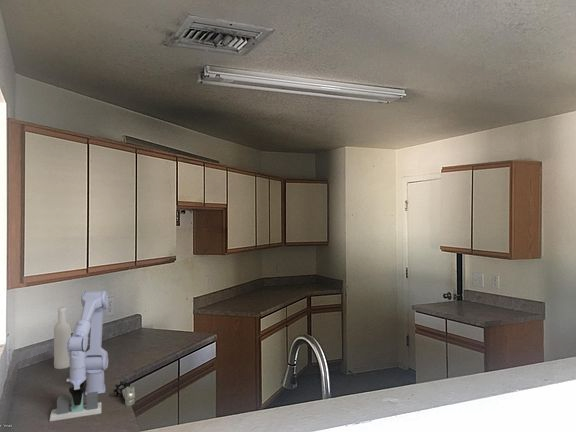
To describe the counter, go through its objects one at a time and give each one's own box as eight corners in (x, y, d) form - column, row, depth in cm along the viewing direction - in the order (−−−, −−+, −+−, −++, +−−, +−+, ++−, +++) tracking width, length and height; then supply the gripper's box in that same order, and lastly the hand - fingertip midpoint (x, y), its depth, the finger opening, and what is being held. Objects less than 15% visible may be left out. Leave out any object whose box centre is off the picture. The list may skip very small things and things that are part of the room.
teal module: (72, 407, 181) (72, 391, 180) (83, 405, 182) (83, 389, 182) (71, 412, 176) (71, 395, 176) (82, 410, 178) (82, 393, 178)
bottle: (74, 363, 236) (73, 306, 236) (67, 369, 228) (66, 309, 228) (58, 364, 236) (57, 306, 236) (51, 369, 228) (50, 309, 228)
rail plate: (52, 411, 180) (52, 395, 180) (101, 404, 187) (101, 388, 187) (49, 421, 172) (49, 404, 172) (101, 413, 178) (101, 397, 178)
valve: (139, 403, 188) (128, 394, 197) (139, 387, 188) (128, 379, 197) (123, 407, 184) (113, 398, 193) (123, 391, 183) (113, 383, 193)
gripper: (67, 362, 184) (68, 395, 185) (64, 374, 171) (65, 410, 171) (86, 360, 187) (87, 393, 187) (85, 371, 174) (85, 407, 174)
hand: (78, 401), depth 179 cm, fingers open, 7 cm apart
